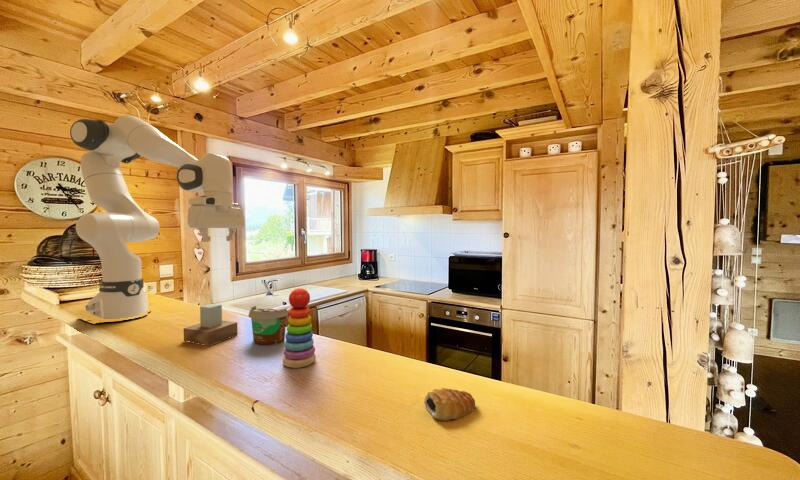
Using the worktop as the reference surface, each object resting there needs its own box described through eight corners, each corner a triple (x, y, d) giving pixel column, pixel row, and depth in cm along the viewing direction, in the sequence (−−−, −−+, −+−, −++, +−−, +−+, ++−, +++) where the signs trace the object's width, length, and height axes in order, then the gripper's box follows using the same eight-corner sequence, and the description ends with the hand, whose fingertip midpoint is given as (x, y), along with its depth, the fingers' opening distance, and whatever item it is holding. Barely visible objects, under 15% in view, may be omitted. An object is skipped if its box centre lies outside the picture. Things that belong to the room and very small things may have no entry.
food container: (239, 344, 92) (238, 310, 92) (254, 337, 98) (254, 305, 98) (274, 349, 89) (274, 313, 88) (288, 341, 95) (288, 308, 94)
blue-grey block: (200, 326, 96) (200, 306, 96) (212, 322, 100) (211, 303, 100) (210, 327, 95) (210, 307, 95) (221, 324, 98) (221, 304, 98)
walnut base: (183, 341, 94) (183, 328, 94) (213, 331, 104) (213, 319, 104) (209, 345, 91) (209, 332, 91) (237, 334, 101) (237, 322, 100)
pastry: (463, 396, 64) (463, 378, 64) (483, 415, 58) (484, 394, 58) (421, 406, 61) (421, 386, 61) (438, 426, 55) (438, 404, 55)
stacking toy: (275, 365, 79) (274, 289, 78) (299, 353, 86) (299, 284, 85) (299, 371, 75) (298, 292, 74) (322, 359, 82) (322, 287, 81)
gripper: (235, 204, 121) (235, 240, 122) (183, 199, 102) (184, 242, 102) (248, 203, 119) (248, 240, 120) (198, 198, 100) (199, 242, 100)
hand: (218, 241), depth 111 cm, fingers open, 8 cm apart
